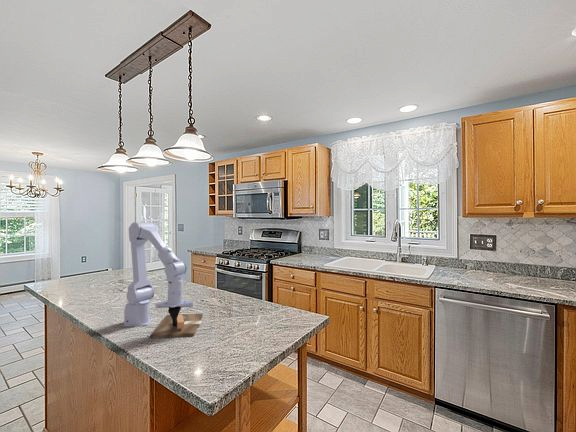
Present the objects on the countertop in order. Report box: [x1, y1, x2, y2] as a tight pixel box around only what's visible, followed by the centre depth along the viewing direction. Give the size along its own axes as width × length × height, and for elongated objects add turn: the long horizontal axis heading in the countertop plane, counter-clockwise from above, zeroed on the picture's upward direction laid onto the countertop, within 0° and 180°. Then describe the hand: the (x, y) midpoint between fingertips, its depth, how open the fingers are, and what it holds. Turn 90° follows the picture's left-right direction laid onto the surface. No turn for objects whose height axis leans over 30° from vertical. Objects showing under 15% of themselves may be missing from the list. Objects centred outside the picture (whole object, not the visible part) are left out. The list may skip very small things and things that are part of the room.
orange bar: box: [177, 314, 186, 329], centre depth 117 cm, size 12×5×2 cm, turn 25°
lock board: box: [150, 313, 203, 339], centre depth 120 cm, size 17×22×2 cm
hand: (174, 325), depth 113 cm, fingers closed, pressing on orange bar
